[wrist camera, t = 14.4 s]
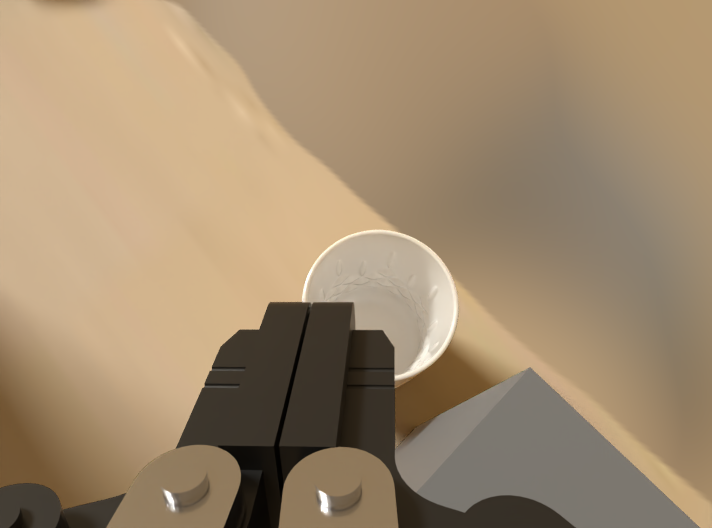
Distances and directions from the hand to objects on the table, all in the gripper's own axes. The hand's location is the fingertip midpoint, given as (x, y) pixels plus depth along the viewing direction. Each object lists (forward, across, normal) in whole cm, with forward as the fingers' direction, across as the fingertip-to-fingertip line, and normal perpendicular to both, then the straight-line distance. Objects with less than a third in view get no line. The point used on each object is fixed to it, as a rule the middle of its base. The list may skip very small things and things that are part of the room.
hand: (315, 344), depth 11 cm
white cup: (+24, 0, +17) cm, 29 cm away
